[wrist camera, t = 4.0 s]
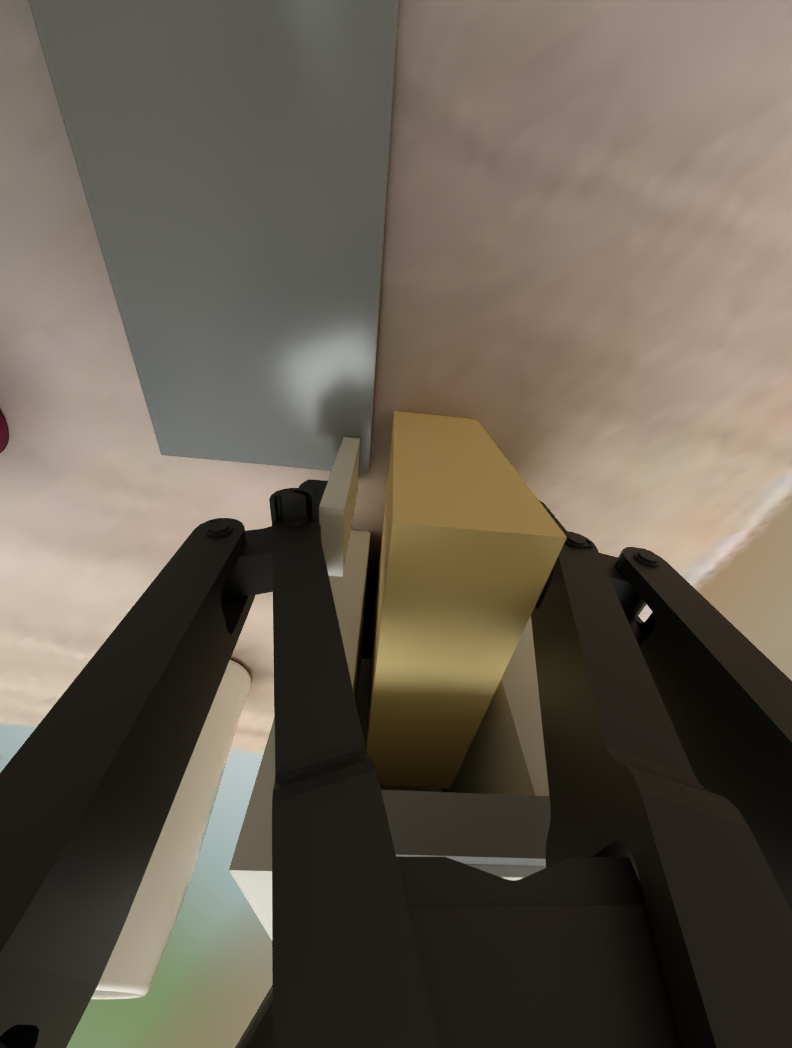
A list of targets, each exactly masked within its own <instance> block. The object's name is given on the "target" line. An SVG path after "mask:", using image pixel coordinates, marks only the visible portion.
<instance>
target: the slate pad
mask: <svg viewBox="0 0 792 1048" xmlns="http://www.w3.org/2000/svg"><path fill="white" fill-rule="evenodd" d="M28 1H29V4H30V8H31V11H32V15H33V18H34V22H35V25H36V28H37V32H38V35H39V39H40V42H41V45H42V49H43V52H44V56H45V59H46V62H47V66H48V69H49V73H50V76H51V80H52V83H53V86H54V90H55V93H56V97H57V100H58V103H59V107H60V110H61V114H62V117H63V120H64V124H65V127H66V131H67V134H68V138H69V141H70V144H71V148H72V151H73V155H74V158H75V161H76V165H77V168H78V172H79V175H80V178H81V182H82V185H83V189H84V192H85V196H86V199H87V202H88V206H89V209H90V213H91V216H92V219H93V223H94V226H95V230H96V233H97V236H98V240H99V243H100V247H101V250H102V254H103V257H104V260H105V264H106V267H107V271H108V274H109V277H110V281H111V284H112V288H113V291H114V294H115V298H116V301H117V305H118V308H119V312H120V315H121V318H122V322H123V325H124V329H125V332H126V335H127V339H128V342H129V346H130V349H131V352H132V356H133V359H134V363H135V366H136V370H137V373H138V376H139V380H140V383H141V387H142V390H143V393H144V397H145V400H146V404H147V407H148V410H149V414H150V417H151V421H152V424H153V428H154V431H155V434H156V438H157V441H158V445H159V448H160V451H161V455H169V456H180V457H191V458H201V459H212V460H223V461H234V462H244V463H255V464H266V465H276V466H287V467H298V468H308V469H319V470H330V471H332V469H333V466H334V463H335V460H336V457H337V454H338V452H339V449H340V446H341V443H342V440H343V438H344V437H349V438H360V449H359V471H358V473H362V474H368V473H369V465H370V450H371V434H372V418H373V402H374V386H375V370H376V355H377V339H378V323H379V307H380V291H381V275H382V259H383V244H384V228H385V212H386V196H387V180H388V164H389V148H390V133H391V117H392V101H393V85H394V69H395V53H396V38H397V22H398V6H399V0H28Z"/></svg>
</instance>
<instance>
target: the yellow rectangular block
mask: <svg viewBox="0 0 792 1048" xmlns="http://www.w3.org/2000/svg"><path fill="white" fill-rule="evenodd" d="M566 538H567V537H566V536H565V534H564V533H563V532H562V530H561V529H560V528H559V526H558V525H557V524H556V522H555V521H554V520H553V518H552V517H551V516H550V515H549V513H548V512H547V511H546V509H545V508H544V507H543V505H542V504H541V503H540V501H539V500H538V499H537V498H536V496H535V495H534V494H533V492H532V491H531V490H530V488H529V487H528V486H527V484H526V483H525V482H524V481H523V479H522V478H521V477H520V475H519V474H518V473H517V471H516V470H515V469H514V467H513V466H512V465H511V463H510V462H509V461H508V460H507V458H506V457H505V456H504V454H503V453H502V452H501V450H500V449H499V448H498V446H497V445H496V444H495V443H494V441H493V440H492V439H491V437H490V436H489V435H488V433H487V432H486V431H485V429H484V428H483V427H482V426H481V424H480V423H479V422H478V420H477V419H469V418H460V417H450V416H440V415H431V414H421V413H412V412H402V411H394V418H393V428H392V438H391V449H390V459H389V469H388V480H387V490H386V500H385V511H384V521H383V531H382V542H381V552H380V562H379V573H378V583H377V593H376V604H375V614H374V628H373V643H372V657H371V671H370V686H369V700H368V715H367V729H366V744H365V747H366V750H367V753H368V755H369V756H370V757H371V759H372V760H373V763H374V766H375V769H376V772H377V776H378V780H379V784H380V785H384V786H409V787H434V788H451V786H452V784H453V782H454V780H455V777H456V775H457V773H458V771H459V769H460V767H461V764H462V762H463V760H464V758H465V756H466V754H467V752H468V749H469V747H470V745H471V743H472V741H473V739H474V736H475V734H476V732H477V730H478V728H479V726H480V724H481V721H482V719H483V717H484V715H485V713H486V711H487V708H488V706H489V704H490V702H491V700H492V698H493V696H494V693H495V691H496V689H497V687H498V685H499V683H500V680H501V678H502V676H503V674H504V672H505V670H506V668H507V665H508V663H509V661H510V659H511V657H512V655H513V652H514V650H515V648H516V646H517V644H518V642H519V640H520V637H521V635H522V633H523V631H524V629H525V627H526V624H527V622H528V620H529V618H530V616H531V614H532V612H533V609H534V607H535V605H536V603H537V601H538V599H539V596H540V594H541V592H542V590H543V588H544V586H545V584H546V581H547V579H548V577H549V575H550V573H551V571H552V568H553V566H554V564H555V562H556V560H557V558H558V556H559V553H560V551H561V549H562V547H563V545H564V543H565V540H566Z"/></svg>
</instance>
